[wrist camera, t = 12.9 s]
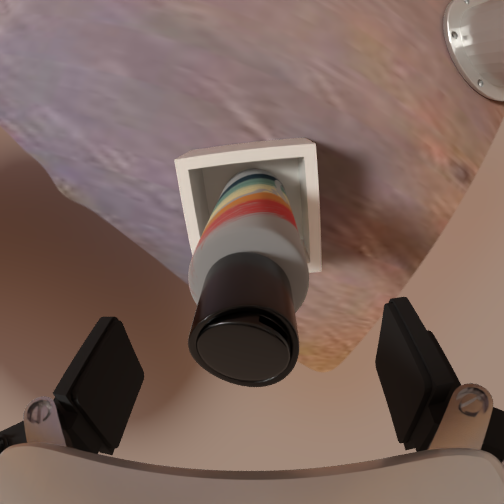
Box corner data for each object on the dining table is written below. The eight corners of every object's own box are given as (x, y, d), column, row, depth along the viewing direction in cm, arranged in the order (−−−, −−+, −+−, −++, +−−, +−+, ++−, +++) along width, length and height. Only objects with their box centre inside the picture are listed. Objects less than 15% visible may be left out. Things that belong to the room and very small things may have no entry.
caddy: (304, 137, 27) (315, 143, 21) (311, 242, 31) (321, 271, 25) (191, 150, 27) (174, 159, 22) (208, 252, 32) (198, 282, 26)
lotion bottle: (299, 197, 28) (362, 354, 10) (256, 240, 30) (248, 426, 12) (252, 154, 26) (234, 247, 8) (209, 200, 28) (128, 355, 10)
